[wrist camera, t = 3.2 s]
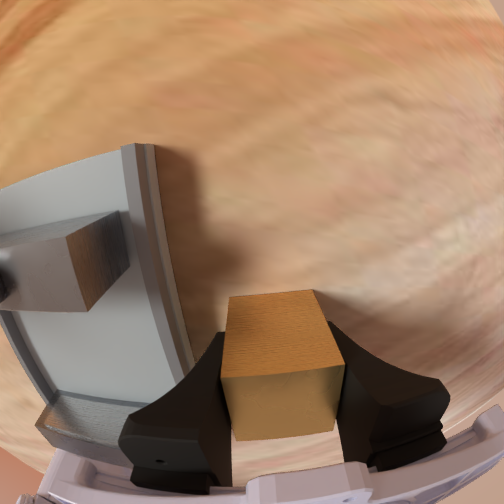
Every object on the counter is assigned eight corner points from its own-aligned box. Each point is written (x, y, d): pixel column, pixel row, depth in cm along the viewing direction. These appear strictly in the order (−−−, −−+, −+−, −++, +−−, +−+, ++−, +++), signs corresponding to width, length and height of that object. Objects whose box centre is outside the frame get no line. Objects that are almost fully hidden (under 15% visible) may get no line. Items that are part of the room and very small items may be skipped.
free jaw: (131, 271, 11) (76, 336, 7) (2, 280, 12) (-49, 318, 7) (118, 209, 11) (45, 247, 6) (-10, 237, 11) (-67, 268, 6)
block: (310, 352, 15) (333, 430, 9) (238, 359, 15) (236, 441, 9) (312, 289, 13) (345, 364, 8) (229, 297, 13) (220, 377, 8)
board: (214, 426, 17) (212, 448, 15) (69, 409, 17) (61, 425, 15) (154, 144, 11) (136, 142, 9) (-15, 198, 11) (-35, 204, 9)
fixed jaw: (188, 426, 15) (179, 475, 12) (71, 410, 16) (52, 446, 12) (177, 402, 15) (165, 454, 11) (55, 386, 15) (32, 422, 11)
